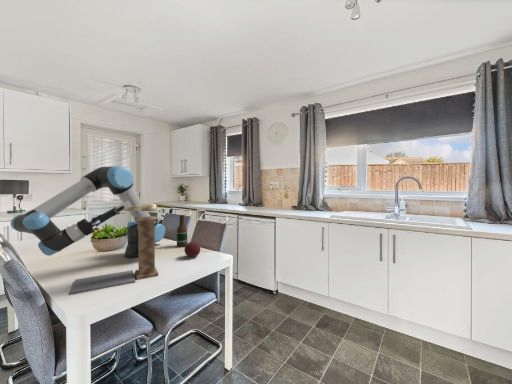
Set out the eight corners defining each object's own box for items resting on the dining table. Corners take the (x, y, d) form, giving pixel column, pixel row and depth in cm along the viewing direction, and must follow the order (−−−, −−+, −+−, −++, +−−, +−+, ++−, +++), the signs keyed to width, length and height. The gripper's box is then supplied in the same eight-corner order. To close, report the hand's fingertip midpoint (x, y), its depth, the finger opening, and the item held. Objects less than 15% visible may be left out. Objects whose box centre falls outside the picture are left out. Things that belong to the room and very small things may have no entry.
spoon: (114, 213, 113) (114, 206, 113) (114, 211, 119) (114, 205, 119) (157, 210, 123) (157, 205, 123) (155, 209, 129) (154, 203, 129)
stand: (136, 279, 118) (136, 220, 117) (135, 273, 127) (134, 217, 126) (158, 275, 124) (158, 218, 122) (155, 269, 132) (155, 216, 131)
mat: (70, 294, 102) (70, 292, 102) (75, 281, 116) (75, 279, 116) (135, 282, 115) (135, 280, 115) (132, 271, 129) (132, 270, 129)
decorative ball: (202, 255, 159) (203, 240, 158) (195, 260, 149) (195, 244, 149) (189, 254, 161) (189, 239, 161) (181, 258, 151) (181, 243, 151)
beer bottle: (178, 245, 184) (178, 214, 183) (188, 244, 184) (188, 214, 183) (175, 247, 176) (175, 215, 175) (186, 247, 177) (186, 215, 176)
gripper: (73, 225, 102) (126, 197, 112) (77, 220, 115) (125, 195, 125) (84, 239, 104) (135, 210, 114) (87, 233, 117) (133, 207, 127)
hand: (130, 202), depth 120 cm, fingers closed on spoon, 2 cm apart
